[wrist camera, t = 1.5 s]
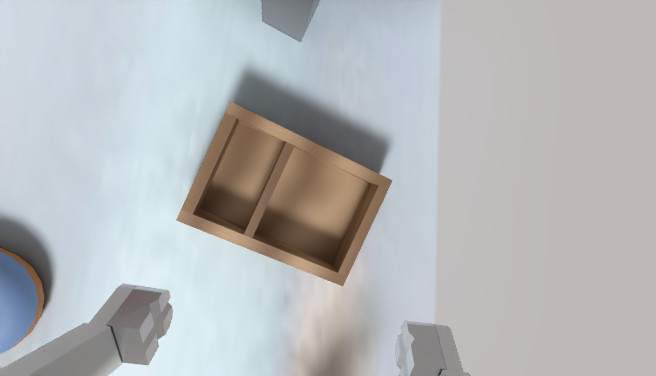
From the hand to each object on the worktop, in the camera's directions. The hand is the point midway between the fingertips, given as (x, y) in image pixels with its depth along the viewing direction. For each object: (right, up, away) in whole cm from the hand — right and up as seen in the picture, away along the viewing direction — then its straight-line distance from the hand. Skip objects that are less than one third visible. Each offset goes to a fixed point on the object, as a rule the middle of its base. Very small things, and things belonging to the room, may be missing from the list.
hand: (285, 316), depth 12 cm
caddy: (-3, +4, +22) cm, 23 cm away
